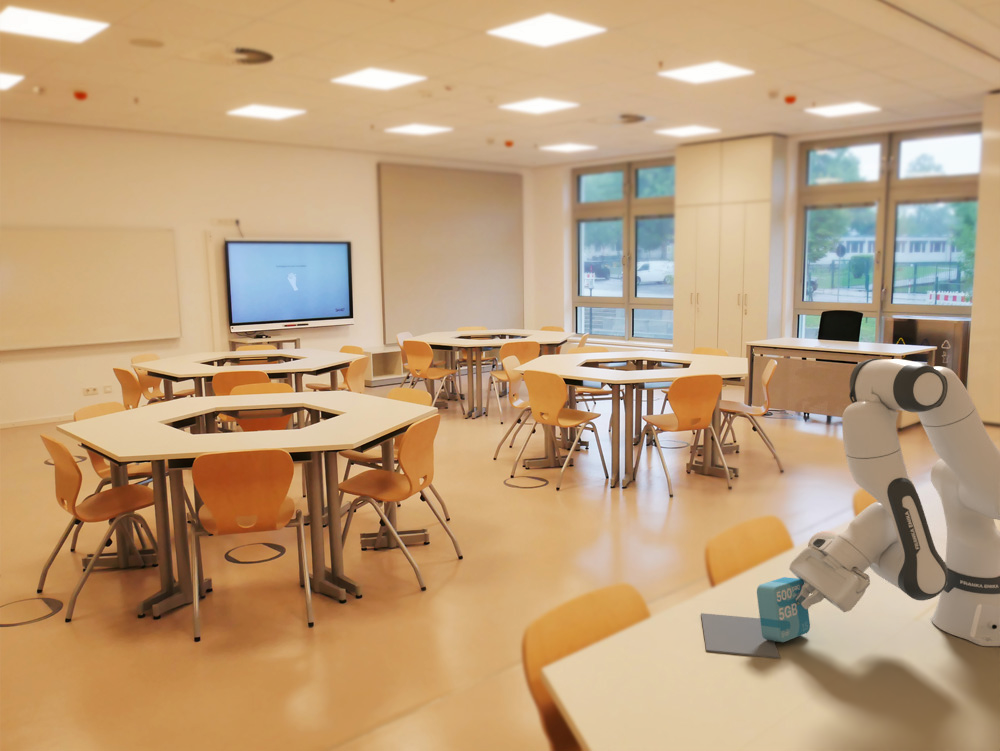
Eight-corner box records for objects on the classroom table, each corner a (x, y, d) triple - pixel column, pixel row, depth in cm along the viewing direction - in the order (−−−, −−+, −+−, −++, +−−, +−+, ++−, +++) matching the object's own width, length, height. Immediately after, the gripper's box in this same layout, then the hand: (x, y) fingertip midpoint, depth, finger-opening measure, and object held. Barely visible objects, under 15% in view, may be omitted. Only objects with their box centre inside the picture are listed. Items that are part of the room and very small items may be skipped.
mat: (767, 620, 181) (767, 619, 181) (779, 658, 163) (779, 656, 163) (701, 614, 184) (701, 613, 184) (706, 651, 166) (706, 649, 166)
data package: (780, 644, 166) (773, 587, 167) (762, 641, 170) (755, 585, 171) (811, 631, 173) (804, 577, 174) (793, 628, 177) (786, 575, 178)
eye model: (836, 560, 219) (839, 526, 217) (852, 574, 209) (854, 538, 207) (801, 559, 219) (803, 525, 217) (814, 573, 209) (817, 538, 207)
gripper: (883, 588, 160) (836, 635, 160) (826, 552, 180) (785, 594, 180) (865, 569, 159) (818, 617, 159) (810, 535, 179) (768, 577, 179)
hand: (800, 604), depth 170 cm, fingers closed
